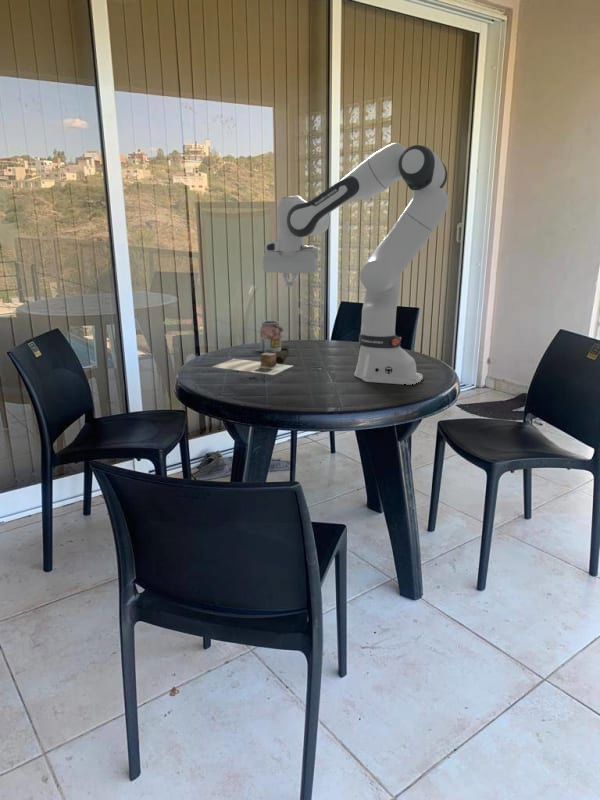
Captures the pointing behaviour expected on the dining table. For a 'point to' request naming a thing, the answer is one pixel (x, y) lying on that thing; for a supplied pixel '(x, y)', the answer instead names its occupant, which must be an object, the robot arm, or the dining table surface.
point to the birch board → (252, 366)
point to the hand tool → (282, 354)
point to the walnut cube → (268, 359)
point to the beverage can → (270, 337)
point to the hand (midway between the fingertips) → (290, 286)
